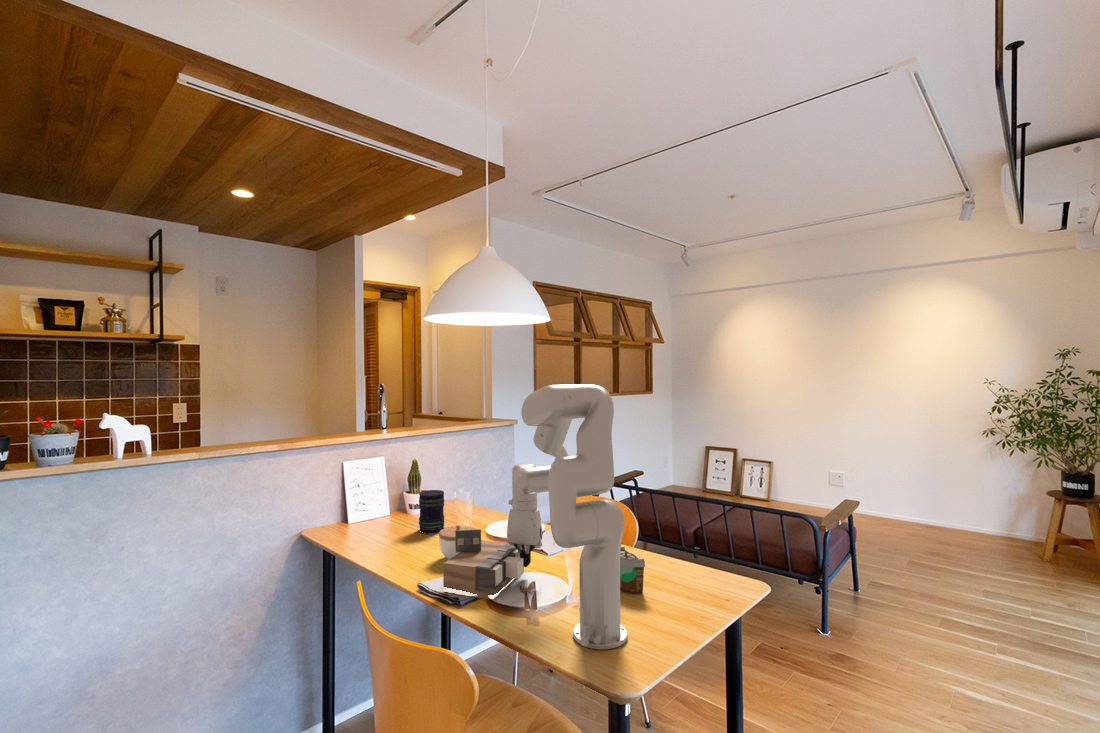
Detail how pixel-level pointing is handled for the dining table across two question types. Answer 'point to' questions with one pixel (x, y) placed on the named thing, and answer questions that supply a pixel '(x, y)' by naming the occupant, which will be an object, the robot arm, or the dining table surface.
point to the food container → (631, 573)
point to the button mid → (514, 567)
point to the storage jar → (431, 511)
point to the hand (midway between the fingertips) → (525, 565)
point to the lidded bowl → (450, 540)
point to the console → (476, 564)
